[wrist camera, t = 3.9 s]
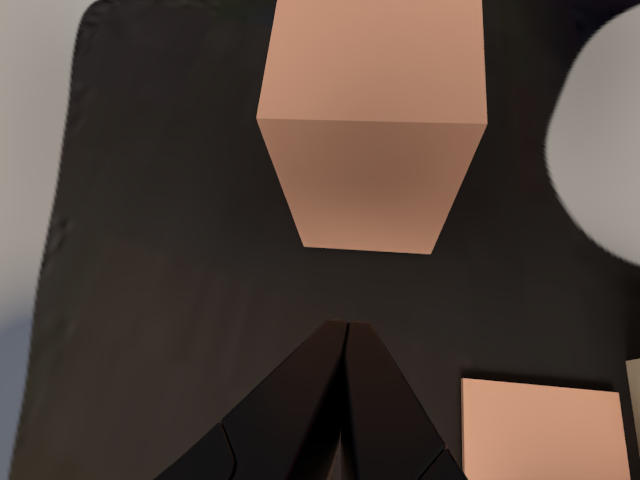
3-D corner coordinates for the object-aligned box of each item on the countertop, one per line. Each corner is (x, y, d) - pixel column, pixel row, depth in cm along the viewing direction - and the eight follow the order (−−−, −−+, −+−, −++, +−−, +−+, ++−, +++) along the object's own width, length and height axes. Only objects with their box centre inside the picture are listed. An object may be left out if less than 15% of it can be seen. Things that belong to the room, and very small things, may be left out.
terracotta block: (430, 254, 20) (487, 123, 11) (303, 246, 21) (256, 118, 12) (431, 144, 22) (479, -43, 13) (316, 140, 23) (284, -39, 14)
